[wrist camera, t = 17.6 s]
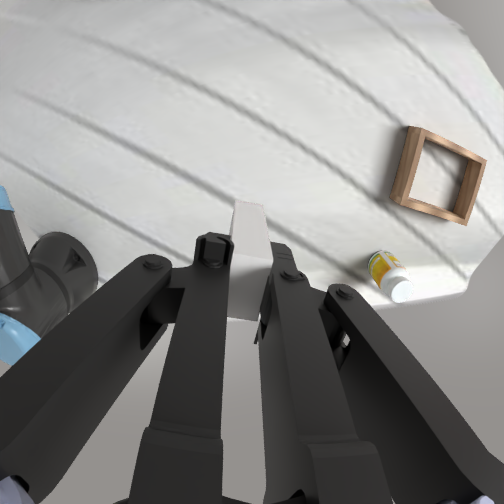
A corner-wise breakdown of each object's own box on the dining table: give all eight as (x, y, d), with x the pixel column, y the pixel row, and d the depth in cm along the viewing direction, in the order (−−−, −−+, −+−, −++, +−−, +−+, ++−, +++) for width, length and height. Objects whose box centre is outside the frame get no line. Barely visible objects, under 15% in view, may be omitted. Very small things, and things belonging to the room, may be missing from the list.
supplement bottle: (393, 246, 51) (417, 272, 42) (394, 272, 53) (417, 300, 44) (365, 254, 51) (387, 282, 42) (368, 279, 53) (387, 310, 45)
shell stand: (389, 197, 47) (400, 204, 43) (409, 125, 41) (421, 127, 38) (454, 218, 48) (466, 226, 45) (473, 155, 43) (486, 160, 39)
